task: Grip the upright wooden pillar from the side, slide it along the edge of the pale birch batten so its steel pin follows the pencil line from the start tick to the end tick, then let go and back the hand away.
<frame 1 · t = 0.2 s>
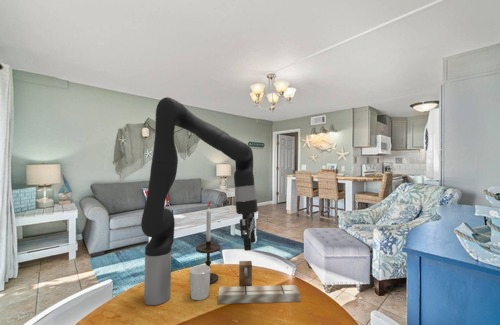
hand: (250, 246, 77), 22 cm above the table, tool pointing down, fingers open, 8 cm apart
white cup: (199, 296, 86), on the table
batten: (258, 298, 85), on the table
candlestick: (208, 280, 99), on the table
upright wooden pillar: (245, 290, 90), on the table
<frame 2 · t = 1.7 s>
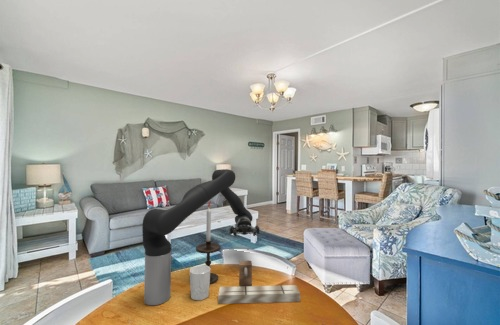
hand: (244, 234, 102), 19 cm above the table, tool horizontal, fingers open, 8 cm apart
nothing on the table moved.
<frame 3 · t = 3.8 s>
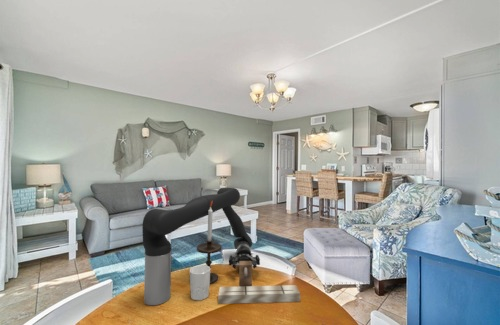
hand: (244, 266, 97), 6 cm above the table, tool horizontal, fingers open, 8 cm apart
candlestick: (208, 279, 99), on the table, touching arm
everything else where it was.
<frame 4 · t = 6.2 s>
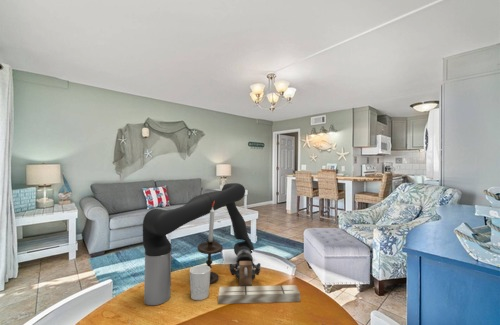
hand: (245, 277, 88), 7 cm above the table, tool horizontal, fingers closed on upright wooden pillar, 5 cm apart
upright wooden pillar: (245, 290, 90), on the table, touching gripper
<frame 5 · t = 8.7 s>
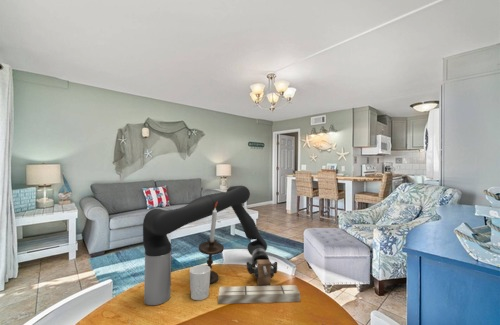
hand: (264, 275, 88), 7 cm above the table, tool horizontal, fingers closed on upright wooden pillar, 5 cm apart
upright wooden pillar: (263, 289, 90), on the table, touching gripper
when the fingers open (7 cm above the table, at t = 11.4 s): upright wooden pillar stays where it is, on the table.
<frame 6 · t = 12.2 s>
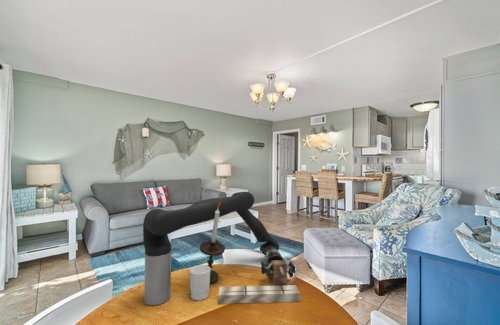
hand: (280, 275, 89), 7 cm above the table, tool horizontal, fingers open, 8 cm apart
upright wooden pillar: (279, 289, 91), on the table
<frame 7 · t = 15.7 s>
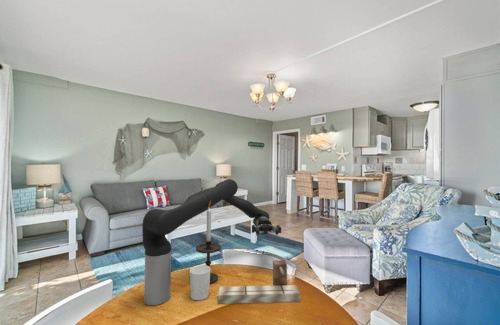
hand: (267, 232, 102), 20 cm above the table, tool horizontal, fingers open, 8 cm apart
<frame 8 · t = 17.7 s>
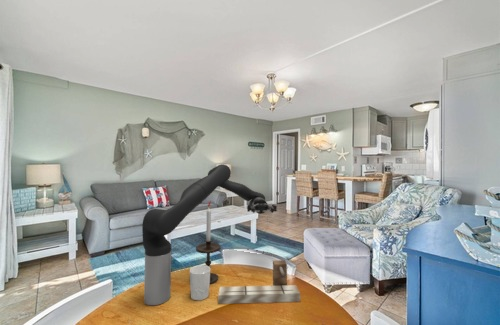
hand: (263, 210, 103), 30 cm above the table, tool horizontal, fingers open, 8 cm apart
candlestick: (208, 280, 99), on the table
everything else where it was.
at the end: upright wooden pillar 0.3 cm from the target spot on the table beside the batten, on the table; upright wooden pillar tilted 0°; the gripper is holding nothing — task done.
